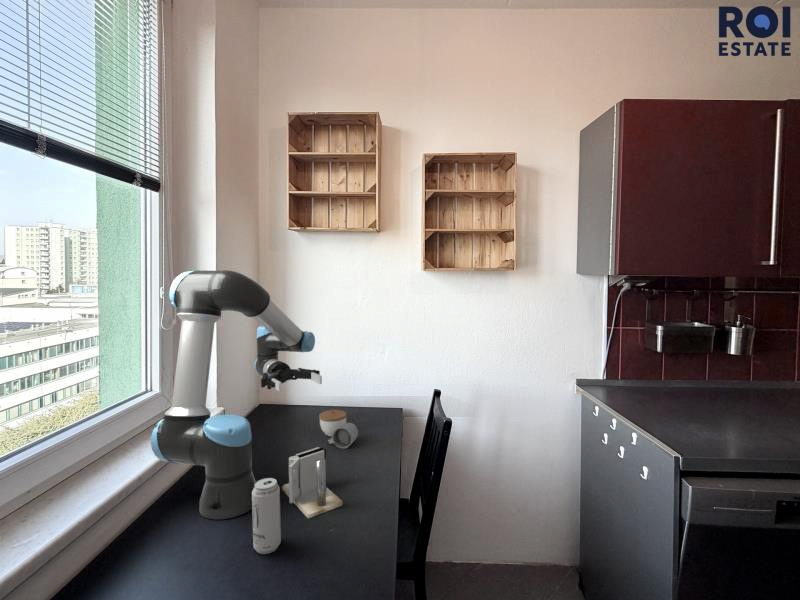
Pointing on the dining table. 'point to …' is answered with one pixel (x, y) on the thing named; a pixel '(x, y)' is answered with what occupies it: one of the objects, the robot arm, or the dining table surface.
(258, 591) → the dining table surface
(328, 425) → the lidded jar
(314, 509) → the mounting board
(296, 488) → the hinge
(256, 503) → the energy drink can
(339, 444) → the ceramic mug
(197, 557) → the dining table surface
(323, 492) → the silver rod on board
